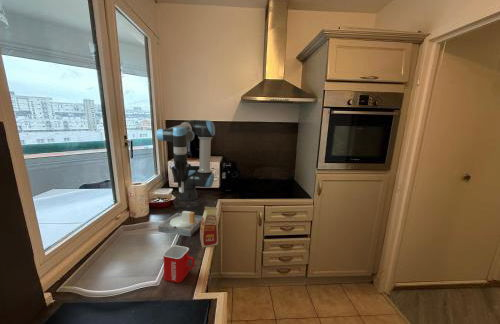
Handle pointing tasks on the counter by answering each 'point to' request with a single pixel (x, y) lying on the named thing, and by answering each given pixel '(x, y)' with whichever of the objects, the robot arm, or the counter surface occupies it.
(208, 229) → the milk carton
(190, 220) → the dial
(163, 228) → the panel
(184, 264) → the mug
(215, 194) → the counter surface
